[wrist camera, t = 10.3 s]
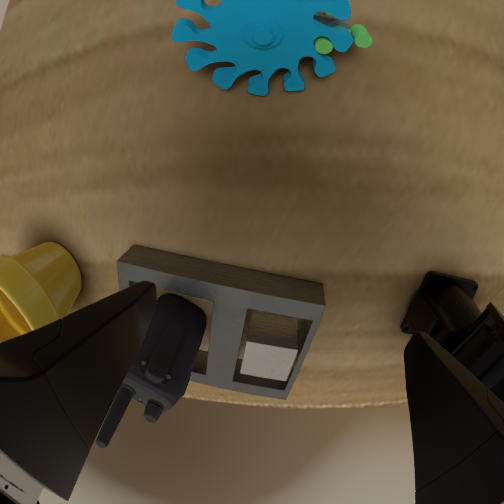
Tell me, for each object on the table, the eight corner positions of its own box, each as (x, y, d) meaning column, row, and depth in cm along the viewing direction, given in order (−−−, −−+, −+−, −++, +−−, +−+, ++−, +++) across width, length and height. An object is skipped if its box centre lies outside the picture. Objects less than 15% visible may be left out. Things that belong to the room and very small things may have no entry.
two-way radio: (150, 307, 27) (75, 438, 13) (167, 275, 25) (78, 418, 11) (200, 336, 27) (150, 476, 14) (222, 307, 26) (171, 466, 12)
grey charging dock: (322, 283, 23) (325, 305, 21) (287, 377, 29) (286, 399, 26) (133, 244, 24) (116, 260, 21) (140, 343, 29) (129, 362, 27)
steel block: (297, 318, 25) (298, 350, 22) (287, 349, 27) (286, 381, 24) (252, 309, 25) (246, 341, 22) (246, 342, 27) (240, 373, 24)
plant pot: (88, 325, 29) (44, 384, 21) (26, 276, 28) (-24, 322, 19) (108, 261, 25) (45, 326, 16) (34, 206, 23) (-35, 249, 15)
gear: (179, 101, 17) (158, -39, 7) (192, 53, 19) (184, -58, 9) (348, 111, 17) (399, -15, 8) (333, 63, 19) (365, -41, 10)
